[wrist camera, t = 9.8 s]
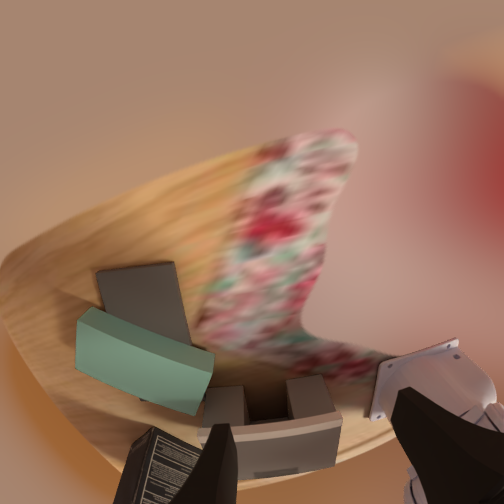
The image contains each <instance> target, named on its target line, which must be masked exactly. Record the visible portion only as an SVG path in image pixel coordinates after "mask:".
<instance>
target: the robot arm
mask: <svg viewBox="0 0 504 504" xmlns="http://www.w3.org/2000/svg"><path fill="white" fill-rule="evenodd" d="M458 343H459V340H458V338H453V339H450V340H447V341H445V342H442V343H439V344H437V345H434V346H431V347H428V348H425V349H422V350H419V351H416V352H413V353H410V354H407V355H404V356H400V357H397V358H394V359H390V360H387V361H384V362H382V363H381V364H380V365H379V369H378V375H377V381H376V386H375V392H374V397H373V402H372V406H371V411H370V415H369V419H370V421H376V420H379V419H382V418H385V417H387V419H388V421H389V422H390V424H391V426H392V428H393V429H394V431H395V434H396V436H397V438H398V440H399V442H400V444H401V445H402V447H403V449H404V451H405V453H406V455H407V456H408V458H409V460H410V462H411V464H412V465H411V466H410V467H409V468H408V469H407V472H408V474H409V476H410V479H409V480H408V481H407V482H406V484H405V487H404V502H405V504H504V406H503V405H502V404H500V403H499V402H497V403H496V390H495V387H494V384H493V382H492V380H491V378H490V377H489V376H488V375H487V373H486V372H484V371H483V370H482V369H481V368H480V367H479V366H478V365H477V364H476V363H475V362H474V361H473V360H471V359H470V358H469V357H468V356H467V355H466V354H465V353H464V352H462V351H461V350H460V349H459V348H458V347H457V346H458ZM389 364H390V365H389ZM388 365H389V366H388ZM237 481H238V457H237V448H236V445H235V441H234V438H233V434H232V431H231V427H230V424H229V423H223V424H214V425H213V426H212V428H211V431H210V434H209V436H208V439H207V441H206V444H205V446H204V448H203V450H202V452H201V454H200V456H199V458H198V460H197V462H196V464H195V466H194V468H193V469H192V471H191V473H190V474H189V476H188V477H187V479H186V481H185V482H184V484H183V485H182V487H181V488H180V489H179V491H178V492H177V493H176V495H175V496H174V497H173V498H172V500H171V501H170V502H169V503H168V504H236V495H237Z"/></svg>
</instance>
